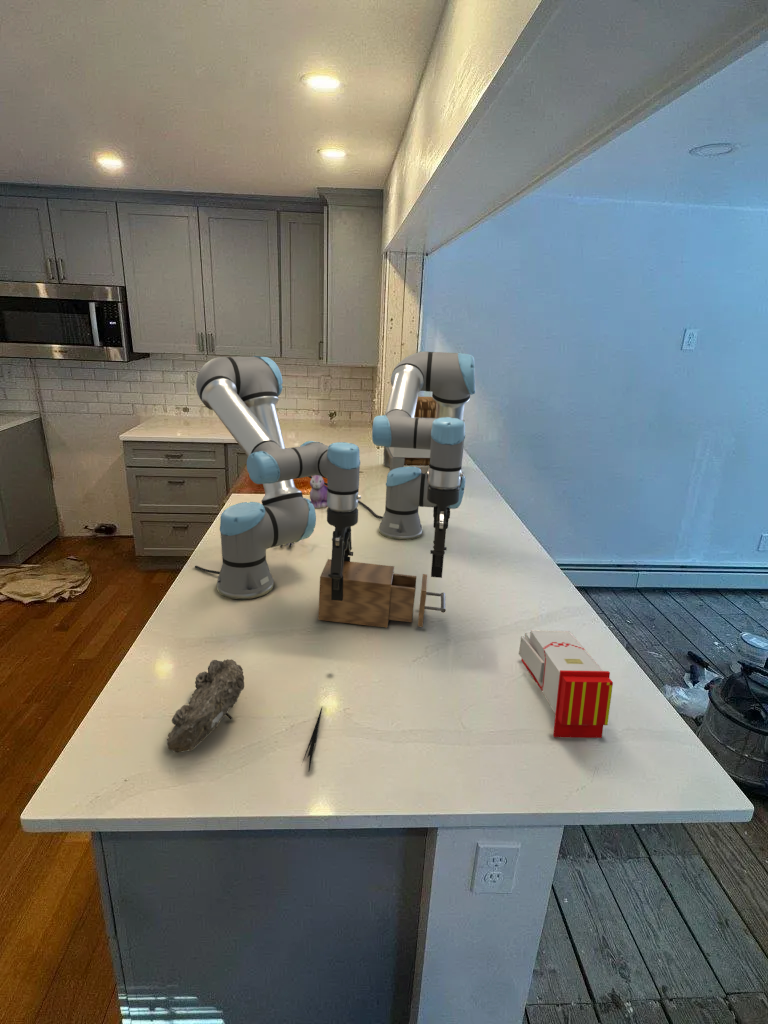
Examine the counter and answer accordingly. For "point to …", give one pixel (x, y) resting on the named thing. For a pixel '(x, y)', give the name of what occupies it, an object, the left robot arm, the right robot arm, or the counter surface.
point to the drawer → (410, 598)
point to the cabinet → (358, 594)
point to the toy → (568, 682)
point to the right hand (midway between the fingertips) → (436, 575)
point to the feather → (313, 740)
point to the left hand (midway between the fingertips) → (340, 589)
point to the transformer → (409, 455)
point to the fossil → (206, 705)
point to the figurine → (318, 492)
